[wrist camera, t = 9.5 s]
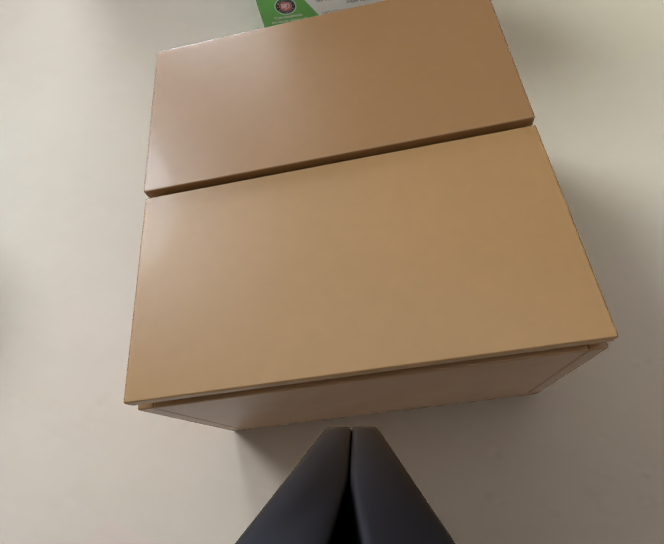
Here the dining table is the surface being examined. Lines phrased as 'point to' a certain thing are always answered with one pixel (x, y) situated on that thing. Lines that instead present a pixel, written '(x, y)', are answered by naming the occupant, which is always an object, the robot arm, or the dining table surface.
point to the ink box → (302, 9)
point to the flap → (360, 271)
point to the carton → (337, 146)
